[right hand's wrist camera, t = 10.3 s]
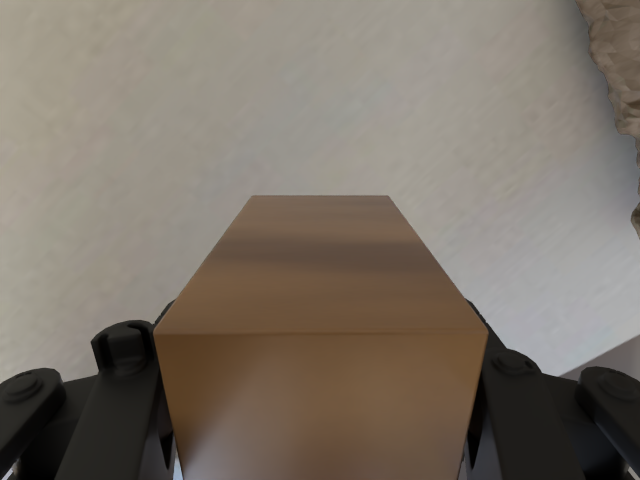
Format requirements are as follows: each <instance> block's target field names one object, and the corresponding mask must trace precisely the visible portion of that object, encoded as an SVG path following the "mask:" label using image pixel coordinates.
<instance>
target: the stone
mask: <svg viewBox="0 0 640 480" xmlns="http://www.w3.org/2000/svg"><path fill="white" fill-rule="evenodd" d="M575 1H576V3H577V5H578V7H579V9H580V11H581V13H582V16H583V17H584V19H585V20H586V21H587V22H588V26H589V31H588V33H589V37H590V45H589V50H588V53H589V55H590V56H591V58H592V59H593V61H594V62H595V63H596V64H597V65H598V69H599V70H600V71H601V72H602V73H604V75H605V77H606V80H607V82H608V89H609V93H608V98H609V99H610V101H611V103H612V105H613V108H614V112H615V124H616V128H617V130H618V132H619V133H620V134H629V135H632V136H633V137H634V138H636V148H637V149H638V155H637V165H638V167H639V168H640V0H575ZM638 194H639V196H640V178H639V187H638ZM631 222H632V225H633V226H634V228H635V229H636V231H637V234H638V237H639V239H640V203H639V204H638V205H637V207H636V209H635V210H634V211H633V213H632V216H631Z"/></svg>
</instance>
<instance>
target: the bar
mask: <svg viewBox="0 0 640 480" xmlns="http://www.w3.org/2000/svg"><path fill="white" fill-rule="evenodd" d="M488 335H489V332H488V329H487V328H486V326H485V325H484V323H483V322H482V321H481V319H480V318H479V317H478V315H477V314H476V313H475V311H474V310H473V309H472V307H471V306H470V305H469V303H468V302H467V301H466V299H465V298H464V297H463V295H462V294H461V293H460V291H459V290H458V289H457V287H456V286H455V285H454V283H453V282H452V280H451V279H450V278H449V276H448V275H447V274H446V272H445V271H444V270H443V268H442V267H441V266H440V264H439V263H438V262H437V260H436V259H435V258H434V256H433V255H432V254H431V252H430V251H429V250H428V248H427V247H426V246H425V244H424V243H423V241H422V240H421V239H420V237H419V236H418V235H417V233H416V232H415V231H414V229H413V228H412V227H411V225H410V224H409V223H408V221H407V220H406V219H405V217H404V216H403V215H402V213H401V212H400V211H399V209H398V208H397V207H396V205H395V204H394V203H393V201H392V200H391V198H390V197H389V196H251V198H250V199H249V200H248V202H247V203H246V204H245V206H244V207H243V208H242V210H241V211H240V213H239V214H238V215H237V217H236V218H235V219H234V221H233V222H232V223H231V225H230V226H229V228H228V229H227V230H226V232H225V233H224V234H223V236H222V237H221V239H220V240H219V241H218V243H217V244H216V245H215V247H214V248H213V249H212V251H211V252H210V254H209V255H208V256H207V258H206V259H205V260H204V262H203V263H202V264H201V266H200V267H199V269H198V270H197V271H196V273H195V274H194V275H193V277H192V278H191V279H190V281H189V282H188V284H187V285H186V286H185V288H184V289H183V290H182V292H181V293H180V294H179V296H178V297H177V299H176V300H175V301H174V303H173V304H172V305H171V307H170V308H169V309H168V311H167V312H166V314H165V315H164V316H163V318H162V319H161V320H160V322H159V323H158V325H157V326H156V327H155V329H154V331H153V336H154V341H155V346H156V351H157V356H158V360H159V365H160V370H161V375H162V380H163V384H164V389H165V394H166V399H167V404H168V408H169V413H170V418H171V423H172V428H173V433H174V437H175V442H176V447H177V452H178V457H179V461H180V466H181V471H182V476H183V480H458V477H459V472H460V468H461V463H462V458H463V454H464V449H465V444H466V439H467V435H468V430H469V425H470V420H471V416H472V411H473V406H474V401H475V397H476V392H477V387H478V382H479V378H480V373H481V368H482V363H483V359H484V354H485V349H486V344H487V340H488Z"/></svg>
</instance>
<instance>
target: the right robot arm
mask: <svg viewBox="0 0 640 480" xmlns="http://www.w3.org/2000/svg"><path fill="white" fill-rule="evenodd" d="M176 299H177V298H176ZM176 299H175V300H176ZM465 299H466V298H465ZM175 300H173V301H172V302H170V303H169V304H168V305H167V306H166V308H165V309H164V310H163V312H162V313H161V316H159V317H158V318H157V320H156V321H155V324H153V325H152V324H151V323H150V322H147V321H143V320H129V321H125V322H121V323H117V324H115V325H112V326H110V327H108V328H105V329H104V330H103V331H101V332H100V333H98V334H97V335H96V336H95V337H94V338H93V339H92V341H91V345H92V349H93V352H94V355H95V359H96V362H97V366H98V369H99V373H98V375H94V376H91V377H86V378H82V379H77V380H73V381H68V382H62V379H61V376H60V373H59V372H57V371H56V370H55V369H50V368H40V369H33V370H29V371H25V372H22V373H20V374H17V375H15V376H14V377H12V378H10V379H8V380H6V381H4V382H2V383H1V384H0V480H2V478H3V477H4V476H5V475H6V473H7V472H8V471H9V470H10V468H12V470H13V473H12V474H11V475H10V476H9V478H8V479H7V480H173V473H174V463H175V453H176V442H175V437H174V433H173V428H172V423H171V418H170V413H169V408H168V404H167V399H166V394H165V389H164V384H163V380H162V375H161V370H160V365H159V360H158V356H157V351H156V346H155V341H154V336H153V331H154V329H155V327H156V326H157V325H158V323H159V322H160V320H161V319H162V318H163V316H164V315H165V314H166V312H167V311H168V309H169V308H170V307H171V305H172V304H173V303H174V301H175ZM466 301H467V302H468V303H469V305H470V306H471V307H472V309H473V310H474V311H475V313H476V314H477V315H478V317H479V318H480V319H481V321H482V322H483V323H484V325H485V326H486V328H487V329H488V332H489V335H488V340H487V344H486V349H485V354H484V359H483V363H482V368H481V373H480V378H479V382H478V387H477V392H476V397H475V401H474V406H473V411H472V416H471V420H470V425H469V430H468V435H467V439H466V444H465V449H464V454H463V458H462V461H464V456H465V462H466V472H467V480H635V479H634V478H633V477H632V475H631V474H630V473H629V472H628V469H629V467H631V468H632V469H633V470H634V472H635V473H636V474H637V475H638V477H639V478H640V382H639V381H638V380H636V379H634V378H632V377H630V376H628V375H626V374H625V373H622V372H620V371H616V370H614V369H610V368H604V367H597V366H595V367H587V368H585V369H584V370H583V371H582V372H581V374H580V377H579V380H578V381H574V380H570V379H565V378H561V377H556V376H551V375H548V374H544V373H542V372H541V370H540V369H539V367H538V366H537V364H536V363H535V362H534V361H532V360H531V359H530V358H529V357H527V356H525V355H523V354H521V353H519V352H517V351H515V350H511V349H507V348H506V347H505V345H504V344H503V343H502V342H501V340H500V339H499V338H498V336H497V335H496V334H495V332H494V331H493V330H492V328H491V327H490V326H489V324H488V323H486V320H485V319H484V318H483V316H482V315H481V314H480V313H479V311H478V310H477V309H476V307H475V306H474V305H473V303H472V302H470V301H469V300H467V299H466Z"/></svg>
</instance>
